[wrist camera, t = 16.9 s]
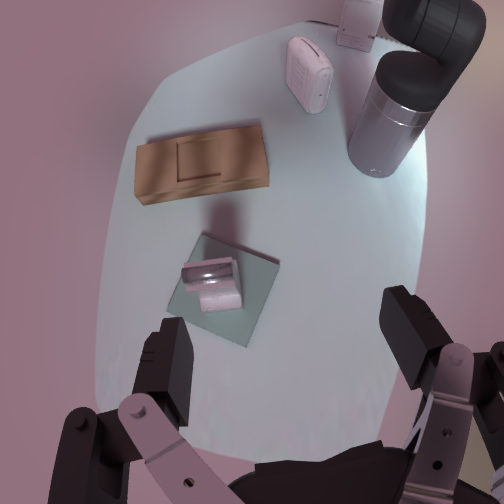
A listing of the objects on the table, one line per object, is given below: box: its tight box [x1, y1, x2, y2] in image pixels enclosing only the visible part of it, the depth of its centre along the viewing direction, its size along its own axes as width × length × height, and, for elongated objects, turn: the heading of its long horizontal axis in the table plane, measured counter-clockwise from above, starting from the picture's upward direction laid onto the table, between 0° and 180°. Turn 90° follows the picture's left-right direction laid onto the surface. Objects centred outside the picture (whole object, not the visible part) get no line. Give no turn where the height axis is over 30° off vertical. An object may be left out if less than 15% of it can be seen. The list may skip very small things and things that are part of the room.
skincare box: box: [337, 0, 384, 52], centre depth 50 cm, size 8×6×15 cm
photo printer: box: [286, 36, 334, 114], centre depth 46 cm, size 10×4×12 cm, turn 23°
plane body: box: [134, 125, 269, 206], centre depth 47 cm, size 20×9×4 cm, turn 97°
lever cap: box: [181, 257, 244, 314], centre depth 36 cm, size 5×6×12 cm
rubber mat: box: [167, 235, 280, 347], centre depth 43 cm, size 12×12×1 cm
